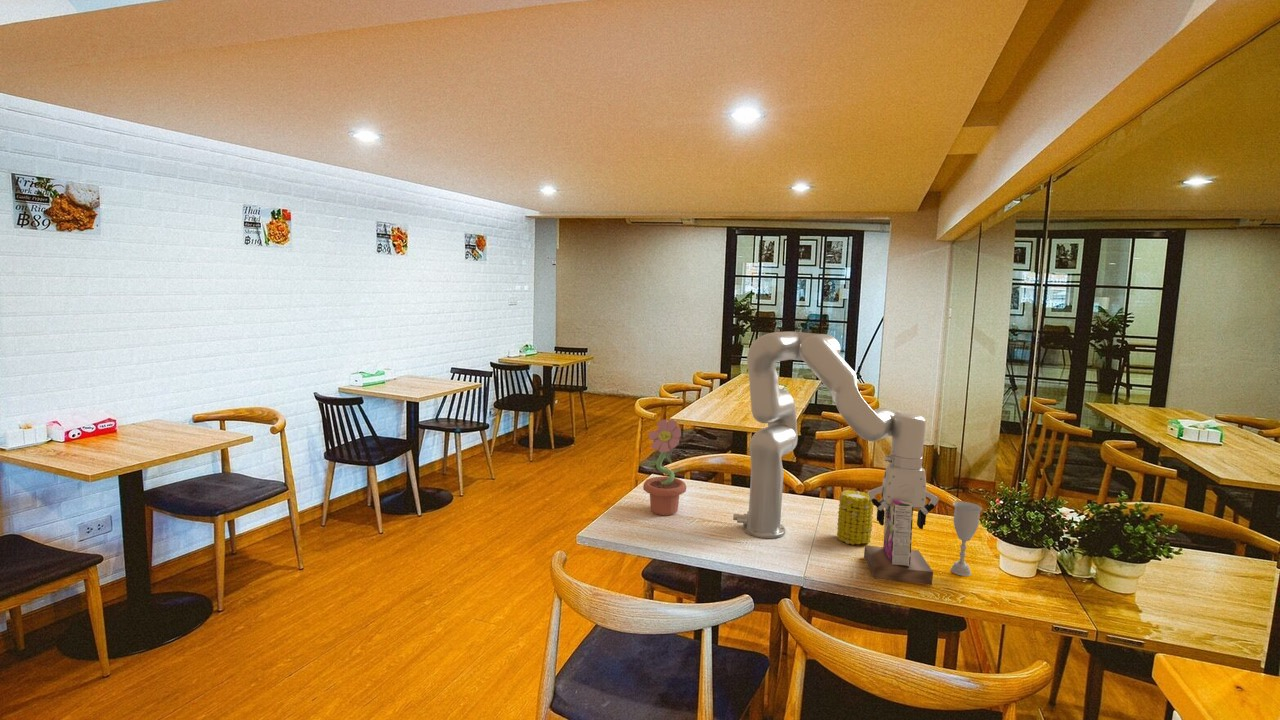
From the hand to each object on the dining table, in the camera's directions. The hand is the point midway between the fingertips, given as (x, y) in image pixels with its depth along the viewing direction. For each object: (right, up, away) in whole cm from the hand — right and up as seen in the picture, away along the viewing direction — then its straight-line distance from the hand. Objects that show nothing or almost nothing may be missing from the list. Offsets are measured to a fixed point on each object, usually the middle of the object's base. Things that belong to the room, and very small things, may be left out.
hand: (900, 525), depth 163 cm
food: (-5, -10, +21) cm, 24 cm away
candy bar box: (-1, -9, +1) cm, 9 cm away
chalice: (+17, -13, +2) cm, 21 cm away
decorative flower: (-61, -6, +38) cm, 72 cm away
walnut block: (0, -13, +1) cm, 13 cm away
